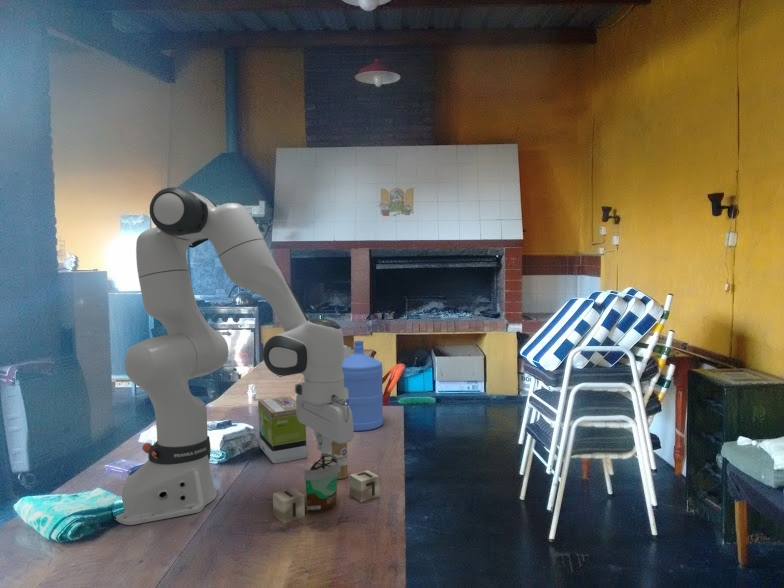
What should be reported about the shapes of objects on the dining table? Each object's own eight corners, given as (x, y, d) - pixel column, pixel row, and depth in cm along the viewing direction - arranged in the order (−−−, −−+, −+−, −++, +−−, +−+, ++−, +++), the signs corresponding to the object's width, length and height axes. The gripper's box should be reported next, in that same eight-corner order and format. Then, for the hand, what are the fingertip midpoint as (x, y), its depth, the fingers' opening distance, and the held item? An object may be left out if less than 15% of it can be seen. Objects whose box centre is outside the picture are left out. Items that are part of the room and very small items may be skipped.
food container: (332, 518, 125) (331, 472, 124) (304, 515, 126) (303, 471, 126) (347, 494, 137) (347, 453, 136) (322, 493, 138) (322, 452, 138)
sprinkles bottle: (341, 481, 146) (340, 428, 145) (326, 477, 148) (325, 426, 147) (351, 474, 150) (350, 423, 149) (336, 471, 152) (336, 421, 151)
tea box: (258, 448, 171) (257, 399, 170) (291, 443, 175) (290, 395, 174) (272, 464, 158) (271, 411, 157) (307, 458, 162) (306, 406, 161)
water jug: (385, 418, 201) (384, 338, 199) (380, 432, 185) (379, 345, 183) (341, 417, 202) (339, 338, 200) (332, 431, 187) (330, 345, 185)
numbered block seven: (361, 502, 133) (361, 480, 133) (349, 495, 137) (349, 473, 137) (379, 497, 136) (379, 475, 135) (367, 490, 140) (367, 469, 140)
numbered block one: (284, 524, 123) (283, 500, 122) (273, 515, 127) (272, 492, 126) (305, 518, 125) (304, 494, 125) (294, 509, 130) (293, 487, 129)
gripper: (361, 399, 123) (360, 462, 124) (315, 380, 140) (314, 436, 141) (335, 403, 120) (334, 468, 121) (291, 384, 136) (291, 441, 137)
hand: (323, 451), depth 131 cm, fingers closed
